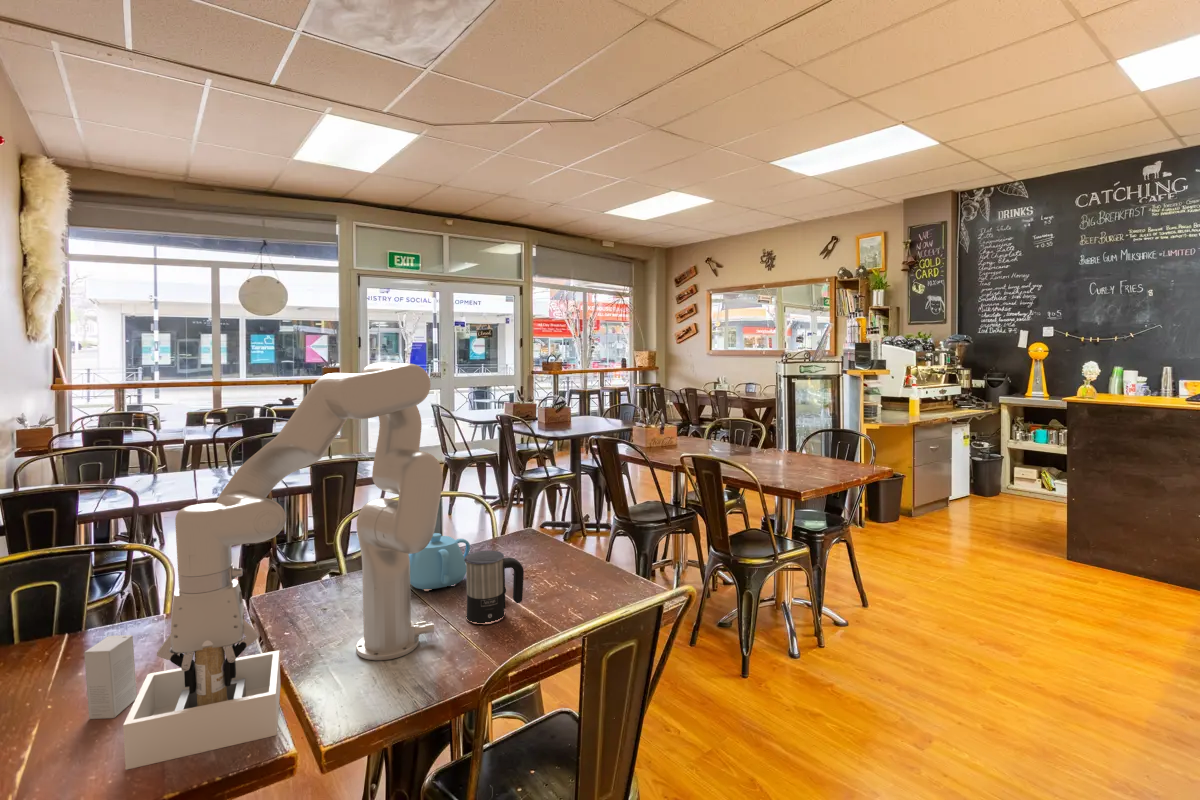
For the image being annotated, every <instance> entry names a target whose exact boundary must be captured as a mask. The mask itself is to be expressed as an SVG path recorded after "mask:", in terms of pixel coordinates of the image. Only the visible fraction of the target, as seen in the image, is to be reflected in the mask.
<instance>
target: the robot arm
mask: <svg viewBox="0 0 1200 800" xmlns="http://www.w3.org/2000/svg"><path fill="white" fill-rule="evenodd" d="M430 390H431V379H430V376H429V374H428V372H427V371H426V370H425V369H424V368H423V367H422V366H420V365H418V364H414V363H400V362H384V361H383V362H374V363H370V364H369V365H367V366H365V367H364V368H363V370H362V371H361V373H354V372H353V373H349V372H332V373H330V372H329V373H326V374H324V375H322V376H320V377H319V378H318V379H317V380H316V381H315V383H313V385H312V386H311V387H310V389H309V391H307V393H306V395H305V396H304V397H303V399H302V400H301V402H300V403H299V404H298V406H297V408H296V409H295V410H294V412H293V413H292V415H291V416H290V418H289V419H288V420H287V421H286V423H285V425H284V426H283V427H282V429H281V430H280V431H279V432H278V433H277V435H276V436H275V437H274V438H273V439H271V440H270V441H268V442H267V443H266V444H265V445H264V446H262V447H261V448H260V449H259V450H258V451H257V452H256V453H254V454H253V455H252V456H251V457H249V458H248V459H247V460H246V461H245V462H244V463H242V465H241V466H240V467H239V468H238V469H237V470H236V471H235V473H234V474H233V476H232V477H231V478H230V479H229V481H228V483H227V484H226V485H225V486H224V488H223V490H222V491H221V492H220V494H219V495H218V498H217V500H216V501H215V502H203V503H197V504H191V505H187V506H185V507H183V508H181V509H179V510H178V512H177V513H176V514H175V515H176V516H175V519H174V522H175V540H176V542H175V543H176V544H175V545H176V555H177V556H176V562H177V578H178V581H177V582H178V587H177V588H176V589H175V590H174V594H173V599H172V605H171V614H170V615H171V617H170V634H169V635H168V637H166V639H165V641H164V642H163V643H162V645H161V646H160V647H159V649H158V651H157V653H156V656H157V657H159V658H162V659H164V660H165V661H166V660H167V661H170V662H171V663H172V664H174V665H175V666H177V667H179V668H181V670H182V671H184V678H185V687H189V693H190V694H192V693H194V692H195V690H196V680H195V659H194V657H195V652H196V651H200V650H203V648H205V647H209V646H205V647H203V646H202V644H203V643H204V642H205V641H207V640H208V641H211V642H212V643H213V645H211V646H213V647H212V648H219V647H223V648H224V651H225V664H224V672H225V686H230V685H231V680H232V678H235V677H236V661H235V660H236V658H239V656H240V655H241V654H242V653H243V652H244V651H245V650H246V648H247V647H249V646H250V645H252V644H253V643H254V642H255V641H256V640H258V639H259V632H258V631H256V629H254V627H252V626H251V625H250V623H248V622H247V621H246V620H245V619H246V618H245V610H244V600H243V595H242V590H241V587H240V583H239V580H237V579H235V578H238V577H243V575H244V573H243V567H240V568H239V567H235V566H234V563H233V560H232V559H233V557H232V556H233V554H232V553H233V550H232V546H233V545H235V546H236V545H244V544H246V545H247V544H254V543H255V544H257V543H261V542H266V541H268V540H271V539H273V538H275V537H276V536H277V535H279V533H280V532H281V531H282V530H283V529H284V527H285V525H286V519H287V516H286V512H285V509H284V508H283V506H282V505H281V504H279V503H278V502H277V501H275V500H273V499H271V498H269V497H268V495H269V494H270V493H271V492H272V490H273V489H274V488H275V487H276V486H277V485H278V484H279V483H280V482H281V481H282V480H284V479H285V478H286V477H287V476H288V475H290V474H293V473H295V472H296V471H299V470H300V469H303V468H307V467H308V466H311V465H313V464H315V463H316V462H318V461H320V460H321V459H322V458H323V457H324V456H325V454H326V453H327V451H328V449H329V448H330V446H331V444H332V443H333V442H334V440H335V438H337V437H336V436H337V435H338V433H339V432H340V431H341V430H342V427H343V426H344V425H345V423H346V422H347V420H348V419H350V420H351V419H352V420H366V419H373V418H377V417H378V421H379V422H378V423H379V425H378V428H379V429H378V435H377V437H378V438H377V441H376V448H375V454H374V459H373V465H372V475H371V476H372V482H373V483H374V485H375V487H377V488H378V489H380V490H381V491H384V492H386V493H390V494H394V495H397V496H398V500H396V499H393V498H386V497H384V498H383V497H381V498H380V497H379V498H375V499H372V500H370V501H368V502H367V503H366V504H364V505H363V506H362V507H361V509H360V511H359V513H358V515H357V518H356V534H357V535H356V536H357V538H358V544H359V547H360V555H361V569H362V580H361V581H362V616H363V617H362V618H363V620H362V621H363V637H361V638H360V639H359V640H358V641H357V643H356V644H355V652H356V654H357V655H358V656H359V657H360V658H363V659H364V660H369V661H388V660H393V659H397V658H400V657H403V656H406V655H408V654H410V653H412V652H413V651H414V650H415V649H416V648H417V647H418V646H419V643H420V635H424V634H433V633H435V626H434V623H433V622H432V623H427V622H426V620H423V621H418V622H415V621H413V620H412V610H411V609H412V604H411V603H412V602H411V601H412V598H411V583H410V558H409V554H414V553H418V552H420V551H422V550H423V549H424V548H425V547H426V546H427V545H428V544H429V542H430V541H431V539H432V536H433V534H434V533H435V530H436V526H437V519H438V514H439V507H440V502H441V496H442V490H443V481H444V480H443V479H444V478H443V469H442V467H441V464H440V462H439V460H438V459H437V458H436V457H435V456H434V455H432V454H431V453H428V452H426V451H422V450H420V445H421V435H422V418H421V413H420V410H419V408H418V405H419V404H421V403H422V402H424V401H425V400H426V398H427V397H428V396H429V394H430ZM243 634H244V635H243ZM243 636H245V637H244V638H243Z"/></svg>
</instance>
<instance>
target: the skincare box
mask: <svg viewBox="0 0 1200 800" xmlns="http://www.w3.org/2000/svg"><path fill="white" fill-rule="evenodd" d="M134 652H135V651H134V637H133V635H131V634H130V635H124V634H123V635H108V636H106V637H105V638H103V639H102V640H100V641H99V642H98V643H96V644H94V645H93V646H92V647H90V648H88V649H87V650H85V651H84V653H83V654H84V665H85V666H84V667H85V681H86V682H85V683H86V695H87V707H88V708H87V709H88V718H89V720H96V719H97V720H98V719H99V720H101V719H115V718H116V717H117V716H118V715H119V714H120V713H121V712H123V711H124V710H125V709H126V708H127V707H128V706H130V705H131V704H132V703H134V702H135V699H136V697H137V695H138V693H137V680H136V666H135V665H136V664H135V653H134Z"/></svg>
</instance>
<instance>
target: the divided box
mask: <svg viewBox="0 0 1200 800" xmlns="http://www.w3.org/2000/svg"><path fill="white" fill-rule="evenodd" d="M280 657H281V656H280V650H274V651H268V652H263V653H258V654H251V655H246V656H245V655H244V656H240V657H239V656H238V657H237V658H236V660H235V661H236V677H235V678H232V680H231V685H230V686H226V688H227V698H228V701H223V702H218V703H213V704H208V705H203V706H198V707H197V693H196V690H195V692H194V693H192V694H190V693H189V687H185V678H184V671H182V670H181V667H179V668H174V669H168V670H162V671H156V672H151V673H147V675H146V677H145V678H144V679H145V680H144V681H143V683H142V685H141V687H140V689H139V691H138V693H137V697H136V699H135V700H134V701H133V704H132V706H131V707H130V709H129V712H128V714H127V716H126V718H125V720H124V722H123V725H122V727H123V730H122V731H123V746H124V747H123V748H124V763H125V770H126V771H127V770H132V769H136V768H139V767H145V766H148V765H152V764H156V763H161V762H166V761H170V760H174V759H175V760H176V759H178V758H184V757H187V756H188V757H189V756H193V755H197V754H200V753H206V752H210V751H214V750H218V749H222V748H227V747H230V746H235V745H240V744H243V743H248V742H252V741H257V740H258V741H259V740H261V739H265V738H269V737H274V736H278V729H279V728H278V726H279V711H280V700H281V699H280V698H281V663H280Z"/></svg>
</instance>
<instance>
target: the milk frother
mask: <svg viewBox="0 0 1200 800" xmlns="http://www.w3.org/2000/svg"><path fill="white" fill-rule="evenodd" d="M464 561H465V562H466V574H465V576H466V615H467V616H465V618H466V617H467V619H468V620H469V621H472V622H477V623H485V622H491V621H495V620H498V619H500V618H502V617H503V616H504V612H505V609H506V606H507V605H506V593H507V588H506V574H505V573H506V572H505V570H506V569H513V581H512V583H513V587H512V599H513V601H514V602H515V603H516V604H520V603H522V600H523V595H524V594H523V592H524V576H525V574H524V573H525V571H524V567H523V565H522V564H521V562H520V561H519V560H517V559H516V558H513V557H505V554H504V553H503V552H501V551H497V550H491V549H490V550H479V551H473V552H471V553H469V554H468V555H467V556H466V557H465V559H464Z"/></svg>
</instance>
